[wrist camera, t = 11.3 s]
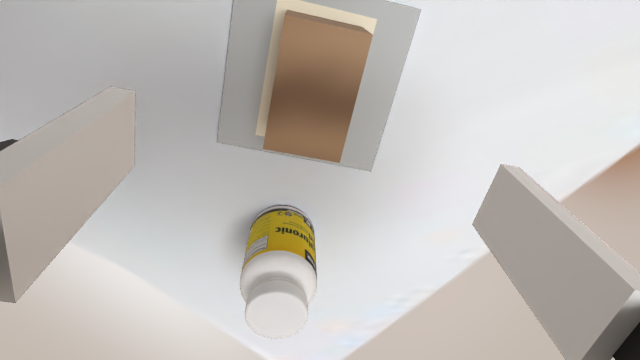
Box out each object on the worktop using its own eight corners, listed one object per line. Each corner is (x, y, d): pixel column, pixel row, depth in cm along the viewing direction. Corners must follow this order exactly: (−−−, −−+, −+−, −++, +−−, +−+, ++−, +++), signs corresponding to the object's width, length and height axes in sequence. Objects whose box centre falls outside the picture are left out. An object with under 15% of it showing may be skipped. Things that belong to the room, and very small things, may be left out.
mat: (217, 140, 30) (216, 142, 29) (238, -37, 25) (237, -37, 24) (370, 169, 31) (371, 171, 31) (419, 9, 26) (421, 9, 26)
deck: (287, 9, 25) (284, 14, 21) (362, 26, 26) (373, 34, 22) (268, 125, 29) (262, 148, 25) (334, 138, 29) (339, 163, 25)
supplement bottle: (327, 230, 34) (336, 317, 25) (282, 266, 35) (276, 359, 27) (282, 190, 32) (275, 269, 23) (237, 230, 33) (214, 318, 25)
